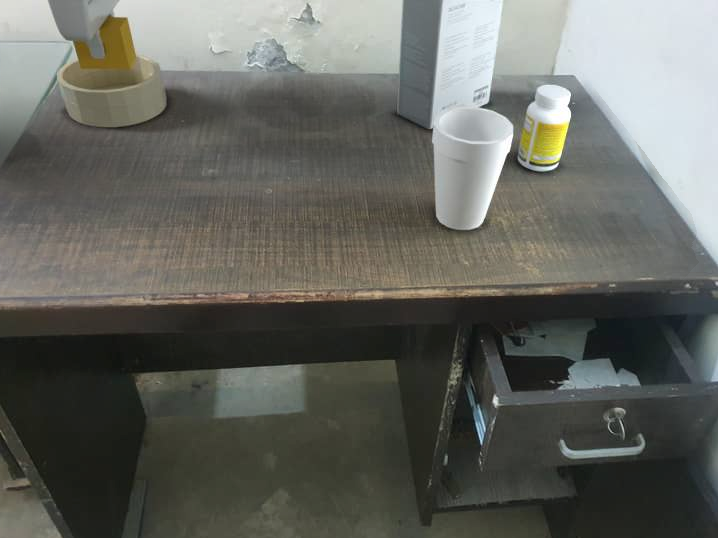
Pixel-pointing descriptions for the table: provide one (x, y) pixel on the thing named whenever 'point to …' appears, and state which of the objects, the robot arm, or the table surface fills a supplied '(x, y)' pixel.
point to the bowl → (113, 93)
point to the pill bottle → (545, 128)
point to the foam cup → (468, 163)
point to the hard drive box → (446, 56)
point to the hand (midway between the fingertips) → (105, 49)
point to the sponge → (110, 47)
